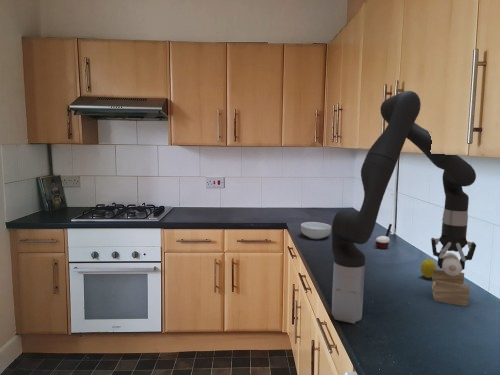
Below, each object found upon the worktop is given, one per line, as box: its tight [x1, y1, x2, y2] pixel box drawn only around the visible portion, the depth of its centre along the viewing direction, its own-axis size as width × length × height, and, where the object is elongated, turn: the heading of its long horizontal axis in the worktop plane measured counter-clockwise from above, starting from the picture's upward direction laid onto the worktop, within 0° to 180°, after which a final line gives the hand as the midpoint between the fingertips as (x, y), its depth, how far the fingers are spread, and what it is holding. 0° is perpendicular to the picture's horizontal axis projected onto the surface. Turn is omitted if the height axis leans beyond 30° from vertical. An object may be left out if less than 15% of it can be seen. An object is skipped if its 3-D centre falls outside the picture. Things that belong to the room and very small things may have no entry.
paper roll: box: [442, 252, 463, 276], centre depth 126 cm, size 9×6×6 cm
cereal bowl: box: [300, 221, 332, 240], centre depth 200 cm, size 17×17×7 cm
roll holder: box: [431, 268, 471, 307], centre depth 127 cm, size 13×10×7 cm
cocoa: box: [374, 223, 393, 250], centre depth 182 cm, size 10×6×12 cm, turn 91°
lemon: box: [420, 258, 437, 279], centre depth 143 cm, size 6×6×8 cm
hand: (450, 268), depth 126 cm, fingers closed on paper roll, 5 cm apart
